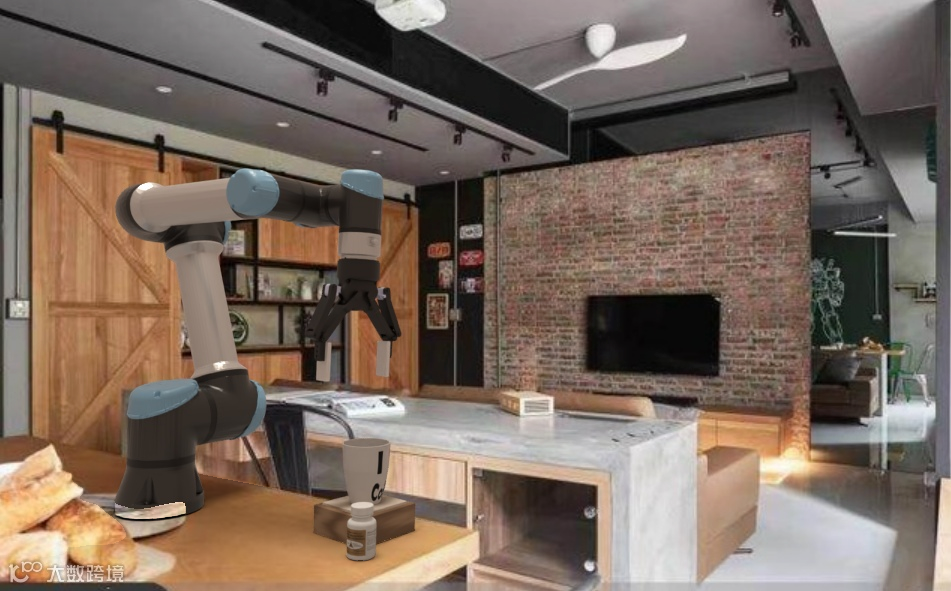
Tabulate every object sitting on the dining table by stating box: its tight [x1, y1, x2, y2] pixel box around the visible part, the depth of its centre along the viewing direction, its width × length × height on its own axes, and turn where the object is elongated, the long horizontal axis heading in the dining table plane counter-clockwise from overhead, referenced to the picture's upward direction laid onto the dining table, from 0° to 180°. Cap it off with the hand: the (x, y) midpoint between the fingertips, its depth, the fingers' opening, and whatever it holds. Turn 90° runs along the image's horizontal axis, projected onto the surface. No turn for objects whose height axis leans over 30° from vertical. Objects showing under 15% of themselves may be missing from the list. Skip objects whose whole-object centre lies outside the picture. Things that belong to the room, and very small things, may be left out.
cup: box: [341, 437, 392, 505], centre depth 112 cm, size 8×8×10 cm
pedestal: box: [312, 494, 416, 544], centre depth 112 cm, size 12×12×5 cm
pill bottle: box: [346, 502, 377, 561], centre depth 100 cm, size 4×4×8 cm
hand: (353, 378), depth 117 cm, fingers open, 13 cm apart
